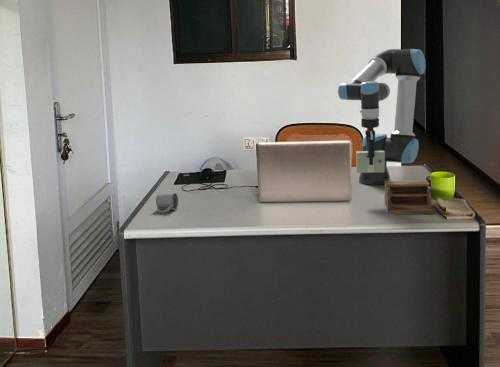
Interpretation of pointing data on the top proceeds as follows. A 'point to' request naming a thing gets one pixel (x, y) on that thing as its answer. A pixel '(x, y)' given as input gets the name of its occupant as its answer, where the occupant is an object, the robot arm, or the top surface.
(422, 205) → the cabinet
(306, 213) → the top surface
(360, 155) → the pale green box
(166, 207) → the ceramic mug
